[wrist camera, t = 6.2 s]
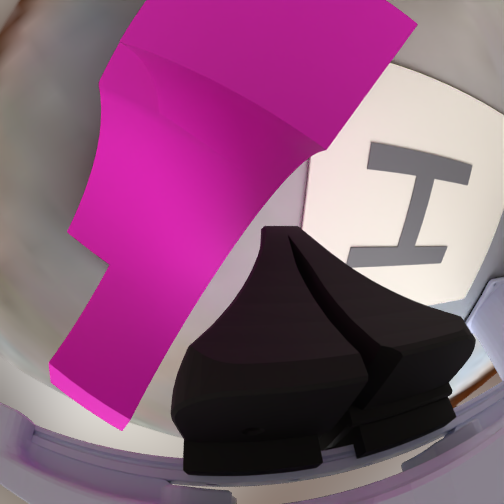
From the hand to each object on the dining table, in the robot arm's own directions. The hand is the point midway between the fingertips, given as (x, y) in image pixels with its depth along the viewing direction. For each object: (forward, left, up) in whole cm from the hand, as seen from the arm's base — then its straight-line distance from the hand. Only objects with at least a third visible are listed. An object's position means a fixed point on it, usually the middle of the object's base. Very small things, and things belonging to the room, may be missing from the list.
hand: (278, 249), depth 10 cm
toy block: (+4, -1, -3) cm, 5 cm away
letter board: (-10, 0, -4) cm, 11 cm away
